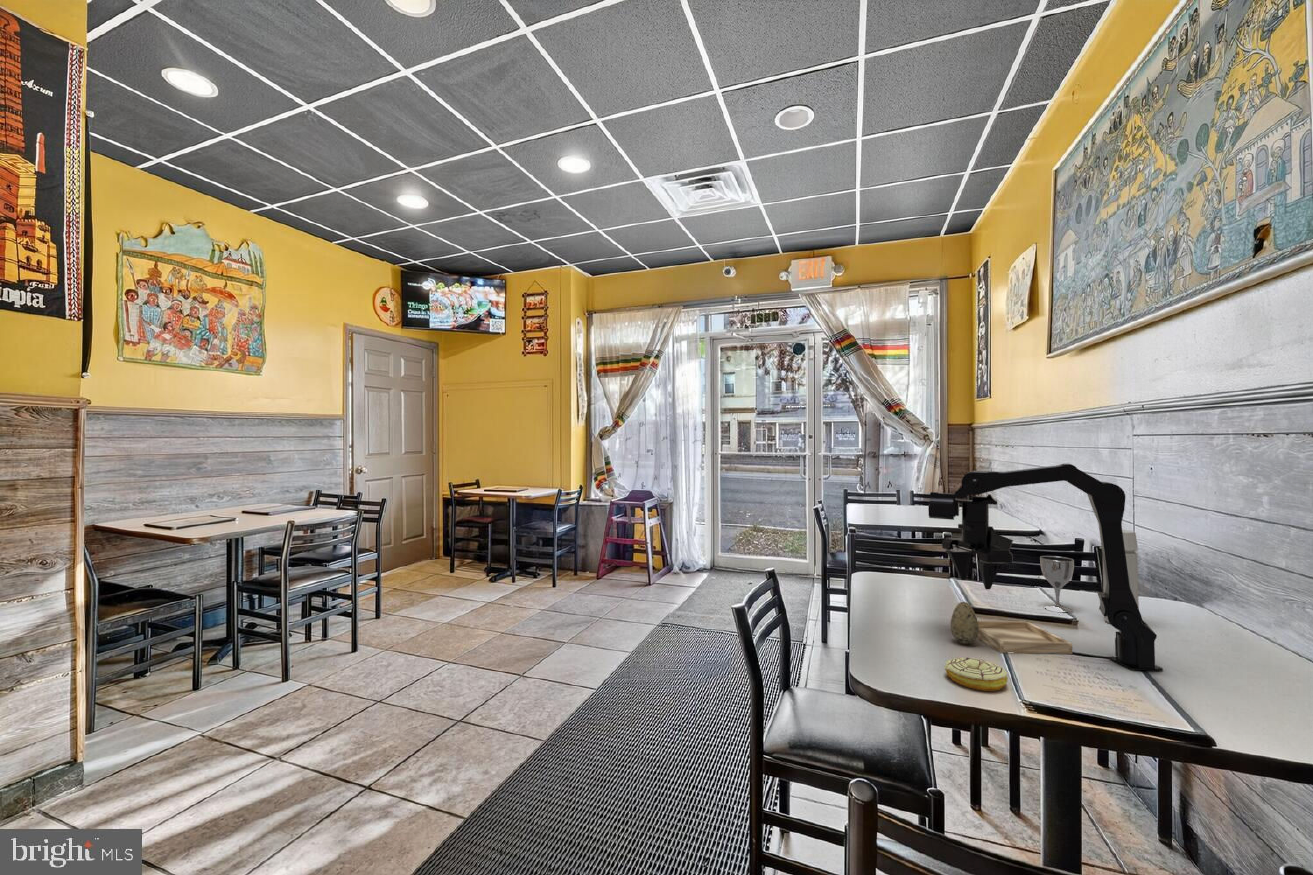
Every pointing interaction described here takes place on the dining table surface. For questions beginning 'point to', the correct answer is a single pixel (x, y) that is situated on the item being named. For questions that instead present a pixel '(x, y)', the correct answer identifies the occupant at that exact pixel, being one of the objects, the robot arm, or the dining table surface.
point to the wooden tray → (1021, 638)
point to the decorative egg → (964, 624)
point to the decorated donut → (976, 674)
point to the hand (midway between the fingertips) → (975, 584)
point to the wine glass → (1057, 574)
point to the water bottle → (1128, 563)
